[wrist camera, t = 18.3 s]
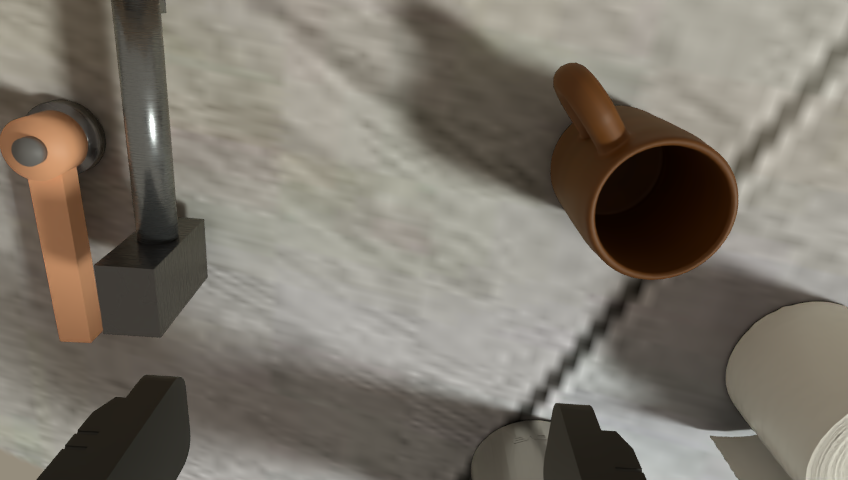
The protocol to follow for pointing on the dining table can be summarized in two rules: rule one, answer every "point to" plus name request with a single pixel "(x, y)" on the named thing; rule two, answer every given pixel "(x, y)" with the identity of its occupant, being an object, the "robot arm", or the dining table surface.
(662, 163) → the mug
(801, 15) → the dining table surface
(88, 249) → the latch bar
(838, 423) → the toilet tissue
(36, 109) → the dark grey puck
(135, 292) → the dark grey hammer
